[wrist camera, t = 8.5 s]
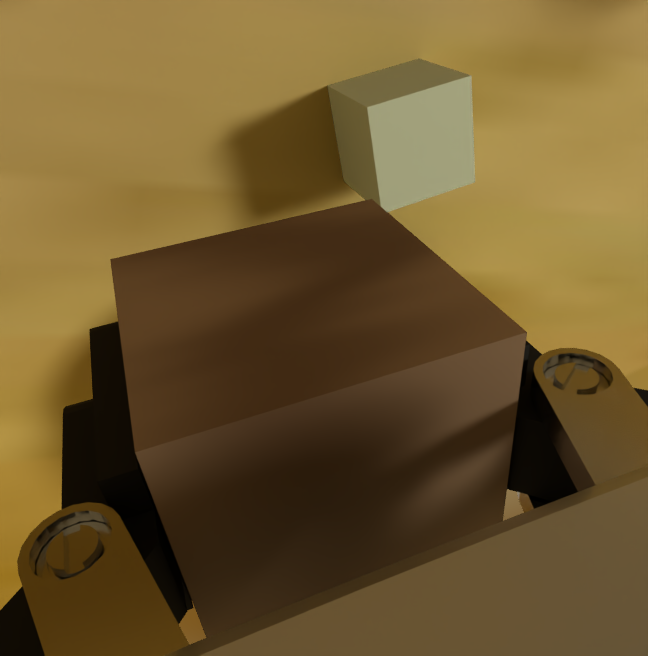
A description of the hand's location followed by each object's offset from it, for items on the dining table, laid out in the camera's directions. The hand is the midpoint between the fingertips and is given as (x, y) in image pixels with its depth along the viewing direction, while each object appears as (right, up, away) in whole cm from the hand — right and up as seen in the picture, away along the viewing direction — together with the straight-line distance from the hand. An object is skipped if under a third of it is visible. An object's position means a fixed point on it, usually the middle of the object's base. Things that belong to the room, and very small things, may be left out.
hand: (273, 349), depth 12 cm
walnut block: (0, 0, 0) cm, 1 cm away
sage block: (+4, +11, +19) cm, 22 cm away
